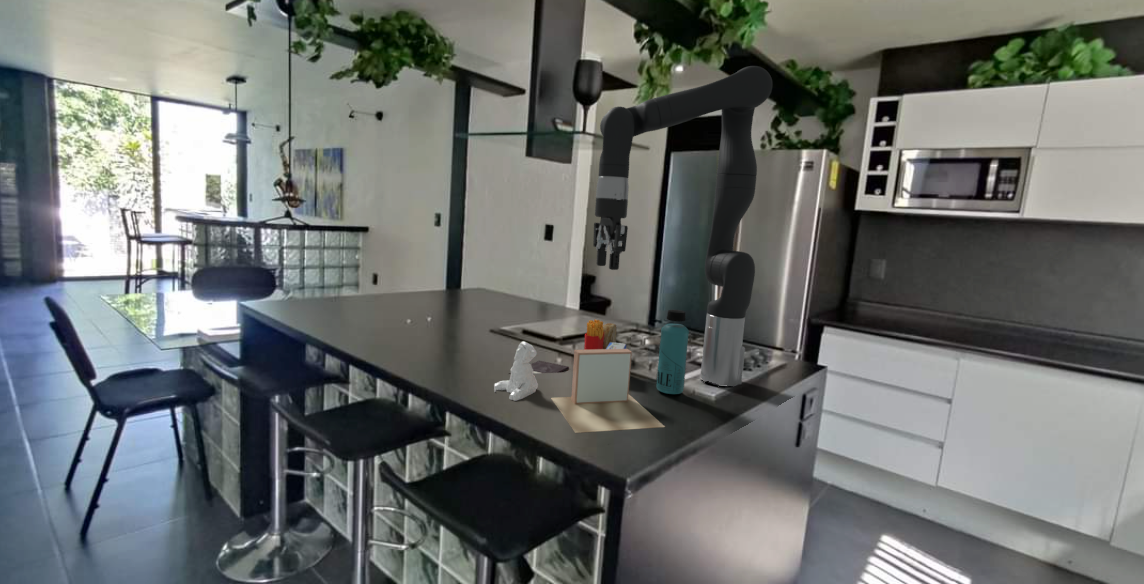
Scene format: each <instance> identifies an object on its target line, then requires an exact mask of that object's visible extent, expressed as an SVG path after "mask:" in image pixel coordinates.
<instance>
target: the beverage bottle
mask: <svg viewBox="0 0 1144 584" xmlns="http://www.w3.org/2000/svg"><path fill="white" fill-rule="evenodd" d="M666 320H667V321H672V322H682V323H683V322H686V311H684V310H680V309H668V311H667V316H666ZM689 333H690V331H689V329H688V328H687V327H686V325H683V324H680V323H666V324H664V325H663V326H662V327H661V329H660V338H659V339H660V341H659V346H658V347H659V349H658V362H657V369H656V370H657V372H656V377H655V378H656V379H655V383H656V385H655V386H656V390H657V391H659V392H661V393H664V394H667V395H668V394H669V395H680V394H682V393H683V391H684V389H685V384H686V383H685V380H686V369H687V365H686V364H687V355H688V342H689Z"/></svg>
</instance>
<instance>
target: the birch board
mask: <svg viewBox="0 0 1144 584" xmlns="http://www.w3.org/2000/svg"><path fill="white" fill-rule="evenodd" d="M550 399H551V400H552V402H553V403H554V405H555V406H556V407H557V409H558V410H559V411H560V413H561V415H562V416H563V417H564V419H565V420H566V422H567V423H568V425H569V426H570V428H571V429H572V430H573V432H574V433H575V434H580V433H581V434H583V433H595V432H596V433H597V432H609V431H610V432H612V431H627V430H639V429H640V430H641V429H654V428H655V429H656V428H658V429H659V428H666V426H665V425H663V423H662V422H661V421H659V420H658V419H657V418H656V417H655V416H654V415H652V414H651V413H650V412H649V410H647V409H646V408H645V407H643V405H641V404H640V403H639V402H638V401H637V400H636V399H635V398H634V397H633V396H632V395H630V394H629V393H628V401H626V402H606V403H586V404H574V403H573V402H572V400H571V396H559V397H551V398H550Z"/></svg>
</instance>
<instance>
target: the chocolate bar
mask: <svg viewBox="0 0 1144 584" xmlns="http://www.w3.org/2000/svg"><path fill="white" fill-rule="evenodd" d="M530 364H531V366H532V369H533V373H534V374H556V373H558V374H559V373H561V374H562V373H563V372H565V371H567V370H569V368H570V366H568V365H567V366H566V365H564V364H558V363H553V362H547V361H545V360H544V361H543V360H537V361H535V362H532V363H530ZM508 375H511V372H509V373H508Z"/></svg>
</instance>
